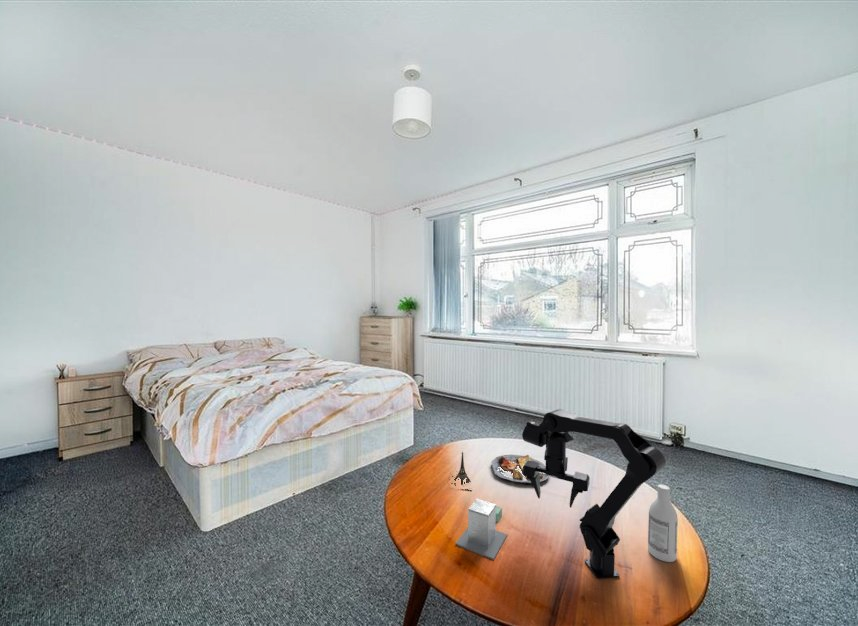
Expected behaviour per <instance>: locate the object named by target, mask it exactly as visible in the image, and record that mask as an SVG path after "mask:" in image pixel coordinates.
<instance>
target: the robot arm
mask: <svg viewBox="0 0 858 626" xmlns="http://www.w3.org/2000/svg"><path fill="white" fill-rule="evenodd" d="M571 432H572V433H573V432H574V433H579V434H584V435H589V436H593V437H598V438H603V439H609V440H613V441H614V442H615V443H616V445H617V446H618V448H619V450H620V452H621V454H622V455H623V457H624V458H625V459H626V460H627V461H628V464H627V466H626V470H625V473H624V476H623V477H622V478H621V480H620V481H619V482H618V484H617V485H616V486H615V487H614V488H613V490H612V491H611V493H609V495H608V496H607V498H606V499H605V500H604V501H603V503H602V504H601V505H600V506H599V504H598V502H597V503H595V504H593V505H592V506H591V507H590V508H588V509H587V510H586V511H585V513H584V515H583V516H582V517H581V518H579V521H580V523H579V529H580V532H581V535H582V538H583V540H584V544H585V545H584V546H585V549H586V550H588V551H589V558H584V563H586V566H588V568H589V570H590V571H591V572H592V573H593V574H594V576H595V577H596V578H597V579H607V578H608V579H610V578H620V573H619V571H618V570H617V569H616V568H615V562H616V561H615V557H616V555H615V550H614V549H615V547H616V546H617V545H619V543H620V541H621V538H620V537H619V535H618V534H617V533H616V531H615V530H614V528H613V527H614V524H615V521H616V520H615V519H616V516H618V514H619V513H620V511H621V510H622V509H623V508H624V507H625V505H626V504H627V503H628V502H629V500H631V498H632V497H633V496H634V494H635V493H636V492H637V491H638V490H639V488H641V486H642V485H643V484H644V483H645V482H647V481H649V480H650V479H651V478H652V477H654V476H655V475H656V474H657V473H659V472H661V470H662V469H664V467H665V466H666V458H665V455H664V454H663V453H662V452H661V451H660V450H659V449H658V448H656V447H655V446H653V445H652V444H651V443H650V442H649V441H648V440H647V439H646V438H644V437H643V436H641V435H640V434H638V433H637V432H635V431H634V429H632V428H631V426H629V425H628V424H626V423H624V422H620V423H619V422H618V423H617V422H613V421H607V420H601V419H594V418H587V417H582V416H578V415H575V414H573V413H572V412H571V411H567V410H564V409H561V408H558V409H555V410H552V411H549V412H547V413H545V414H544V415H543V419H542V421H541V423H537V422H535V421H532V420H528V421H526V425H525V426H524V428H523V431H522V433H521V435H522V436H521V437H522V439H523V442H526V443H529V444H532V445H535V446H537V447H539V448H543V447H544V446H545V451H544V457H543V458H544V459H543V460H544V461H545V465H544V466H545V468H541V467H539V463H538V462H534V461H529V460H528V461H527V462H526V463H525V464H524V466H523V469H522V474H523V475H524V476H527V479H529V480H530V481H531V483H530V484H531V485H532V486H533V487H532V488H533V489H534V491H535V493H536V496H537V498H538V499H540V498H541V494H542V493H541V492H542V491H541V482H540V474H542V475H546V476H549V477H551V478H554V479H558V480H562V481H567V482H570V483H572V487H571V491H570V496H569V497H570V498H569V508H572V506H573V505H574V502H575V499H576V498H577V496H578V494H579V493H580V494H583V493H584V492H588V491H589V487H590V479H591V478H590V477H591V476H589V474H588V473H583V472H580V471H574V475H573V474H569V473H566V472H567V470H568V460H569V457H567V456H566V455H567V454H566V453H567V451H566V450H567V444H568V443H569V442H572V441H574V437H573V436H572V435H571V434H570V433H571ZM523 475H522V476H523ZM524 476H523V477H524ZM527 479H526V480H527Z"/></svg>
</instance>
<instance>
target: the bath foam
mask: <svg viewBox="0 0 858 626" xmlns="http://www.w3.org/2000/svg"><path fill="white" fill-rule="evenodd" d="M670 491H671V488H670V487H669V486H668V485H665V484H663V483H662V484H661V483H660V484H658V485H657V497H656V498H655V499H654V500H653V501H652V502H651V503H650V505H649V508H648V525H647V526H648V529H647V530H648V531H647V550H648V552H649V554H651V555H652V556H653V557H654V558H656V559H657V560H660V561H663V562H664V563H673V562H675V561H676V560H677V554H678V553H677V551H678V523H679V522H678V513H677V511H676V509H675V507H674V505H673V503H672V502H671V501H670V500H671V499H670V495H671V492H670Z"/></svg>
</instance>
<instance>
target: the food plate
mask: <svg viewBox="0 0 858 626" xmlns="http://www.w3.org/2000/svg"><path fill="white" fill-rule="evenodd" d="M528 460H529V461H534V462H538V463H539V467H541V468H545V466H546V465H545V464H544V463H543V462H541V461H540V460H537V459H534V458H532V457H530V455H529V454H527V455H521V454H520V455H518V454H503V455H499V456H495V458H494V459H492V460H491V462H490V463H491V467H492V469H493V473H494V475H496V476H497V477H499V478H501V479H504V480H509V481H512V482H518V483H528V484H532V483H531V481H530V480H529V479H527V476H525V477H526V478H525V477H524V476H523V475H522V474H521V473H520V472H519V471H518V470H519V469H518V470H515V469H517V466H519V468H520V469H521V471H522V469H523V466H524V464H525V463H526V462H527V461H528ZM513 462H514V463H513ZM498 467H501V468H502V469H503V470H504V471H507V472H508V471H509V472H511V474H512V473H513V476H512V478H510V476H507V475H506V476H507V477H506V476H504V475H505V474H502V473H501V472H500V468H498ZM498 469H499V471H497V470H498ZM549 477H550V476H546V475H542V474H540V483H541V482H543V481H546V480H547V479H549ZM523 478H525V480H523Z"/></svg>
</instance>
